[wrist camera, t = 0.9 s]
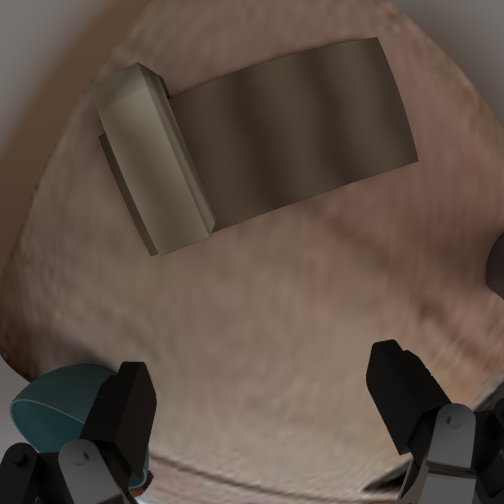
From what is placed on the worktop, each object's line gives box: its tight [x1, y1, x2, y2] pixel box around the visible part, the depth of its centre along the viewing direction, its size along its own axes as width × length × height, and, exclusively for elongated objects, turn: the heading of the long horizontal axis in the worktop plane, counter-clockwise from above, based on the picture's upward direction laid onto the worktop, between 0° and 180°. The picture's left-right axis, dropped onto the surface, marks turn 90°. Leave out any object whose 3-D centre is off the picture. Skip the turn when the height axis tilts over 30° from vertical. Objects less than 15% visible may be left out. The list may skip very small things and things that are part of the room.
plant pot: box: [10, 364, 149, 489], centre depth 30 cm, size 18×18×12 cm
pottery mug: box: [129, 470, 154, 497], centre depth 43 cm, size 12×10×8 cm
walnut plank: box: [99, 37, 419, 256], centre depth 24 cm, size 26×12×2 cm, turn 111°
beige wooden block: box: [90, 62, 217, 256], centre depth 22 cm, size 4×14×6 cm, turn 21°
